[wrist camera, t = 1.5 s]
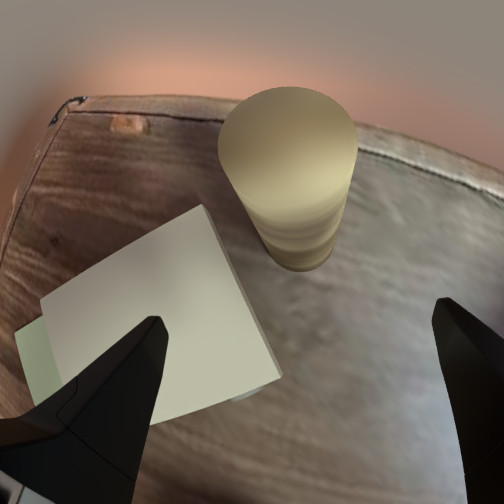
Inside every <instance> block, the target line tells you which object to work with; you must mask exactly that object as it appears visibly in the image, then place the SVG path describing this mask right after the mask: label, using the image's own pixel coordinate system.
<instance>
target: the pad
mask: <svg viewBox="0 0 504 504" xmlns="http://www.w3.org/2000/svg"><path fill="white" fill-rule="evenodd" d="M14 334H15V338H16V343H17V347H18V351H19V355H20V359H21V362H22V366H23V370H24V373H25V376H26V380H27V383H28V386H29V389H30V392H31V396H32V398H33V401H34V404H35V406H37V405H38V404H40V403H41V402H42V401H44V400H45V399H47V398H48V397H50V396H51V395H52V394H54V393H55V392H56V391H58V390H59V389H60V388H62V387H63V384H62V381H61V378H60V375H59V372H58V368H57V365H56V362H55V359H54V355H53V352H52V349H51V345H50V341H49V338H48V334H47V330H46V326H45V322H44V318H43V315H42V316H41V317H39V318H38V319H36V320H34V321H33V322H31V323H30V324H28V325H26V326H25V327H23V328H22V329H20V330H19V331H17V332H15V333H14Z"/></svg>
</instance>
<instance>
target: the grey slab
mask: <svg viewBox="0 0 504 504" xmlns="http://www.w3.org/2000/svg"><path fill="white" fill-rule="evenodd" d="M40 304H41V309H42V313H43V318H44V322H45V326H46V330H47V334H48V338H49V341H50V345H51V349H52V352H53V355H54V359H55V362H56V365H57V368H58V372H59V375H60V378H61V381H62V384H63V386H64V385H65V384H67V383H68V382H69V381H70V380H71V379H73V378H74V377H75V376H76V375H78V374H79V373H80V372H81V371H82V370H83V369H85V368H86V367H87V366H88V365H89V364H91V363H92V362H93V361H94V360H95V359H97V358H98V357H99V356H100V355H101V354H103V353H104V352H105V351H106V350H108V349H109V348H110V347H111V346H112V345H114V344H115V343H116V342H117V341H118V340H120V339H121V338H122V337H123V336H124V335H126V334H127V333H128V332H129V331H131V330H132V329H133V328H134V327H135V326H137V325H138V324H139V323H140V322H142V321H143V320H144V319H145V318H146V317H148V316H160V317H161V318H162V320H163V322H164V324H165V327H166V329H167V331H168V334H169V341H168V347H167V353H166V359H165V365H164V371H163V377H162V381H161V385H160V388H159V392H158V396H157V399H156V403H155V407H154V410H153V414H152V418H151V422H150V425H152V424H156V423H159V422H162V421H166V420H169V419H172V418H175V417H179V416H182V415H185V414H188V413H191V412H194V411H197V410H200V409H203V408H205V407H208V406H211V405H214V404H217V403H219V402H222V401H225V400H227V399H230V400H231V402H234V401H238V400H241V399H243V398H246V397H248V396H251V395H253V394H255V393H257V392H258V391H260V390H262V389H263V385H265V384H267V383H270V382H272V381H274V380H277V379H279V378H281V377H282V375H283V373H282V370H281V368H280V366H279V364H278V362H277V360H276V358H275V356H274V354H273V351H272V349H271V347H270V345H269V343H268V341H267V339H266V337H265V334H264V332H263V330H262V328H261V326H260V324H259V322H258V319H257V317H256V315H255V313H254V311H253V309H252V307H251V304H250V302H249V300H248V298H247V296H246V293H245V291H244V289H243V287H242V285H241V283H240V280H239V278H238V276H237V274H236V272H235V269H234V267H233V265H232V263H231V261H230V258H229V256H228V254H227V252H226V249H225V247H224V245H223V243H222V240H221V238H220V236H219V234H218V232H217V229H216V227H215V225H214V223H213V220H212V218H211V216H210V213H209V212H208V211H207V209H206V208H205V207H204V206H203V205H202V204H201V205H199V206H197V207H195V208H193V209H191V210H189V211H187V212H186V213H184V214H182V215H180V216H178V217H176V218H175V219H173V220H171V221H169V222H167V223H166V224H164V225H162V226H160V227H158V228H157V229H155V230H153V231H151V232H150V233H148V234H146V235H144V236H143V237H141V238H139V239H137V240H136V241H134V242H132V243H130V244H129V245H127V246H125V247H124V248H122V249H120V250H118V251H117V252H115V253H113V254H112V255H110V256H108V257H107V258H105V259H103V260H102V261H100V262H99V263H97V264H95V265H94V266H92V267H90V268H89V269H87V270H86V271H84V272H82V273H81V274H79V275H78V276H76V277H74V278H73V279H71V280H70V281H68V282H66V283H65V284H63V285H62V286H60V287H59V288H57V289H56V290H54V291H53V292H51V293H50V294H48V295H46V296H45V297H43V298H42V299H40Z"/></svg>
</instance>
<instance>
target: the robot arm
mask: <svg viewBox="0 0 504 504" xmlns="http://www.w3.org/2000/svg"><path fill="white" fill-rule="evenodd" d="M432 327H433V331H434V336H435V341H436V346H437V351H438V357H439V362H440V366H441V370H442V373H443V377H444V380H445V384H446V388H447V392H448V395H449V399H450V403H451V407H452V412H453V416H454V420H455V425H456V430H457V435H458V440H459V445H460V450H461V456H462V462H463V469H464V474H465V475H464V477H465V484H466V492H467V502H468V504H504V339H503V338H502V337H500V336H499V335H498V334H497V333H495V332H494V331H493V330H492V329H490V328H489V327H488V326H487V325H485V324H484V323H483V322H481V321H480V320H479V319H478V318H476V317H475V316H474V315H472V314H471V313H470V312H468V311H467V310H466V309H464V308H463V307H462V306H460V305H459V304H458V303H456V302H455V301H454V300H452V299H451V298H449V297H445V298H439V299H438V300H437V301H436V305H435V308H434V312H433V315H432ZM168 341H169V334H168V331H167V329H166V327H165V324H164V322H163V320H162V318H161V317H160V316H148V317H146V318H145V319H144V320H143V321H142V322H140V323H139V324H138V325H137V326H135V327H134V328H133V329H132V330H131V331H129V332H128V333H127V334H126V335H124V336H123V337H122V338H121V339H120V340H118V341H117V342H116V343H115V344H114V345H112V346H111V347H110V348H109V349H108V350H106V351H105V352H104V353H103V354H101V355H100V356H99V357H98V358H97V359H95V360H94V361H93V362H92V363H91V364H89V365H88V366H87V367H86V368H85V369H83V370H82V371H81V372H80V373H79V374H78V375H76V376H75V377H74V378H73V379H71V380H70V381H69V382H68V383H67V384H65V385H64V386H63V387H62V388H60V389H59V390H58V391H56V392H55V393H54V394H52V395H51V396H50V397H48V398H47V399H45V400H44V401H42V402H41V403H40V404H38V405H37V406H35V407H34V408H33V409H31V410H30V411H28V412H27V413H25V414H24V415H21V416H19V417H16V418H8V419H0V504H131V502H132V498H133V493H134V489H135V484H136V483H135V482H136V479H137V475H138V471H139V466H140V462H141V458H142V454H143V450H144V446H145V442H146V438H147V434H148V430H149V426H150V422H151V418H152V414H153V410H154V407H155V403H156V399H157V396H158V392H159V388H160V385H161V381H162V377H163V371H164V365H165V359H166V353H167V347H168Z"/></svg>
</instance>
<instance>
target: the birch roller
mask: <svg viewBox="0 0 504 504" xmlns="http://www.w3.org/2000/svg"><path fill="white" fill-rule="evenodd" d="M357 150H358V137H357V131H356V128H355V125H354V123H353V121H352V119H351V117H350V116H349V115H348V113H347V112H346V111H345V110H344V108H343V107H342V106H341V105H339V104H338V103H337V102H336V101H335V100H333V99H331V98H330V97H328V96H326V95H324V94H322V93H320V92H317V91H314V90H311V89H307V88H300V87H279V88H273V89H269V90H265V91H262V92H260V93H257V94H255V95H253V96H251V97H249V98H247V99H246V100H244V101H243V102H241V103H240V104H239V105H238V106H237V107H236V108H235V109H234V110H233V111H232V112H231V113H230V114H229V115H228V117H227V118H226V120H225V121H224V123H223V125H222V128H221V130H220V133H219V137H218V156H219V160H220V163H221V165H222V168H223V170H224V171H225V173H226V175H227V177H228V179H229V180H230V182H231V184H232V186H233V188H234V189H235V191H236V193H237V195H238V197H239V198H240V200H241V202H242V204H243V206H244V207H245V209H246V211H247V213H248V215H249V216H250V218H251V220H252V222H253V224H254V226H255V227H256V229H257V231H258V233H259V235H260V236H261V238H262V240H263V242H264V244H265V246H266V247H267V249H268V251H269V253H270V255H271V256H272V258H273V259H274V261H275V262H276V263H277V264H279V265H280V266H281V267H283V268H285V269H287V270H290V271H294V272H306V271H311V270H313V269H316V268H317V267H319V266H321V265H322V264H323V263H324V262H325V261H326V260H327V259H328V258H329V256H330V254H331V252H332V250H333V247H334V243H335V240H336V236H337V232H338V229H339V225H340V221H341V217H342V214H343V210H344V206H345V202H346V198H347V194H348V190H349V186H350V182H351V177H352V173H353V169H354V165H355V160H356V156H357Z"/></svg>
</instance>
